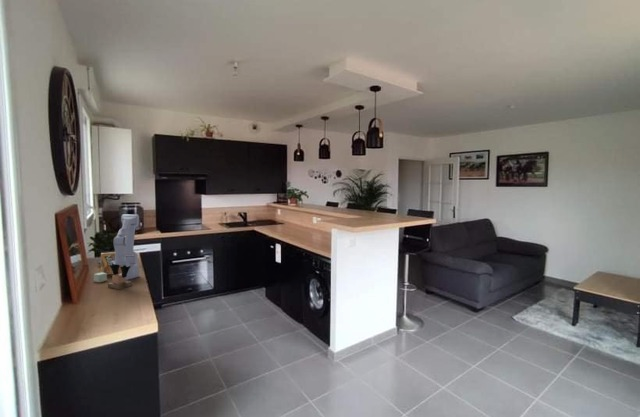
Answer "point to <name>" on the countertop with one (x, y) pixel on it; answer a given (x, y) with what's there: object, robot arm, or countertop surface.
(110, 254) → the candy box
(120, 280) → the terracotta cube
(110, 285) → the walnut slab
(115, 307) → the countertop surface
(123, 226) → the robot arm
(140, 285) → the countertop surface
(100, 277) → the sage cube
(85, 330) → the countertop surface
